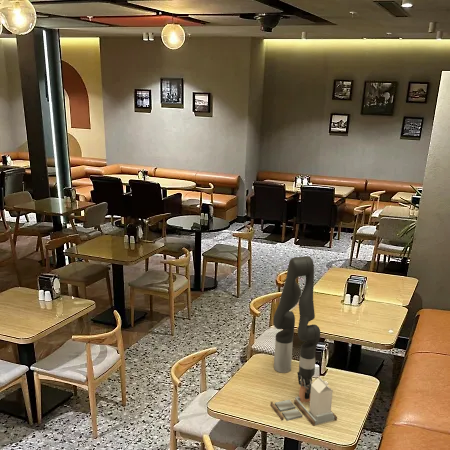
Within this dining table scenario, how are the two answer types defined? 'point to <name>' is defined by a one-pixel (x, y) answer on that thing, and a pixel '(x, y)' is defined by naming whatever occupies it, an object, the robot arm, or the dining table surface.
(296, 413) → the board
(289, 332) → the robot arm
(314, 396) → the milk carton
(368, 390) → the dining table surface
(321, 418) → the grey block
